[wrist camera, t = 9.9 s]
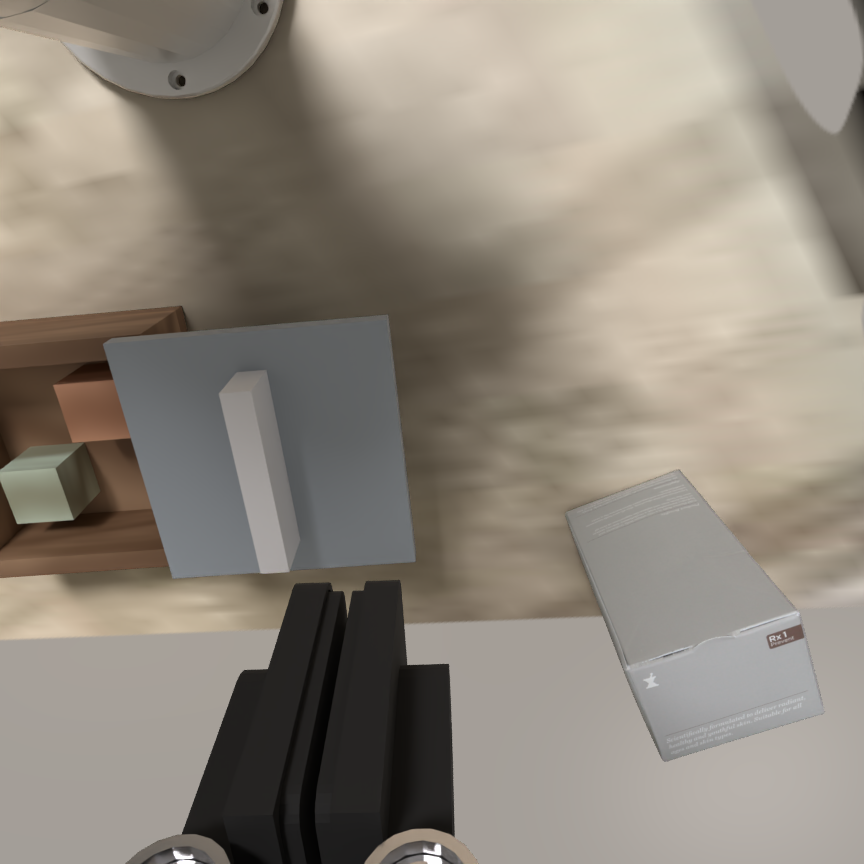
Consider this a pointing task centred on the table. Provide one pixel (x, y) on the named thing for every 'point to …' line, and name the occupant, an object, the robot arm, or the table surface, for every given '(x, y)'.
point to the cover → (269, 445)
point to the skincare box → (693, 618)
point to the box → (72, 448)
